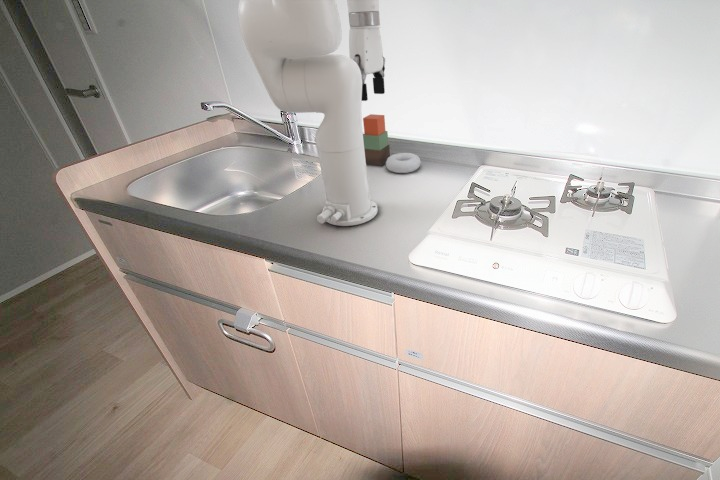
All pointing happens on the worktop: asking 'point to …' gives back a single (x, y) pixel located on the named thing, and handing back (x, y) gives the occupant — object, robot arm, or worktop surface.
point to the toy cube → (374, 124)
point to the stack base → (377, 156)
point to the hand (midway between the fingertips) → (371, 96)
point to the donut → (403, 162)
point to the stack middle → (375, 141)
